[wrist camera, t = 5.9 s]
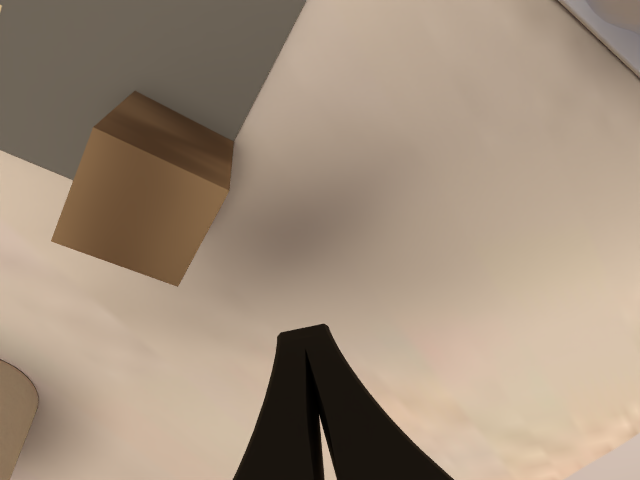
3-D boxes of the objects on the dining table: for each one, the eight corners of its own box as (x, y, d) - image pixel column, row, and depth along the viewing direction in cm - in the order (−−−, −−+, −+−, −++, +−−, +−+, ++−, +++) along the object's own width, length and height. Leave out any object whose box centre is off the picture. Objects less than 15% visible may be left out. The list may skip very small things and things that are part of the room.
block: (233, 141, 17) (229, 190, 13) (193, 219, 19) (177, 286, 14) (134, 90, 16) (92, 127, 11) (99, 179, 17) (51, 240, 13)
